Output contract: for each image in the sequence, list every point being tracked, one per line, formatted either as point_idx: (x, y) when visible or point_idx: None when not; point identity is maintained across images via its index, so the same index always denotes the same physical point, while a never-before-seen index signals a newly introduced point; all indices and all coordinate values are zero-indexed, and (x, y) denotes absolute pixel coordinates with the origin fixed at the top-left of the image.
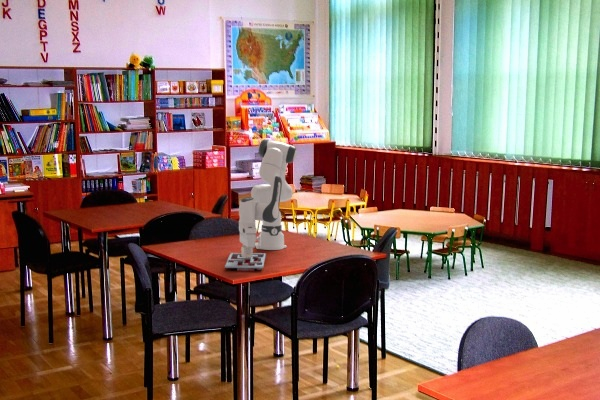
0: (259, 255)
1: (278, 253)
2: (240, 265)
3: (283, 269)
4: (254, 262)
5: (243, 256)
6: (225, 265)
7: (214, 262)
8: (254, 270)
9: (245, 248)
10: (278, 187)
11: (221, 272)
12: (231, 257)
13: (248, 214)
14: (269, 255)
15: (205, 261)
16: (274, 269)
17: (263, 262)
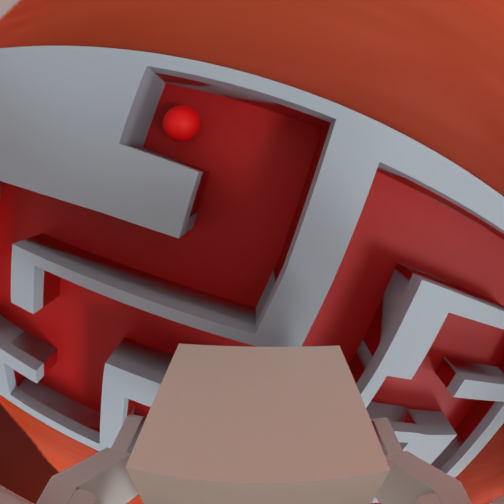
0: (444, 463)
1: (468, 496)
2: (191, 253)
3: (69, 467)
4: (103, 395)
5: (188, 352)
6: (9, 50)
7: (457, 40)
8: (12, 318)
9: (139, 486)
10: None
11: (9, 38)
12: (492, 225)
13: None
14: (465, 477)
15: (490, 5)
16: (62, 439)
17: (90, 445)
